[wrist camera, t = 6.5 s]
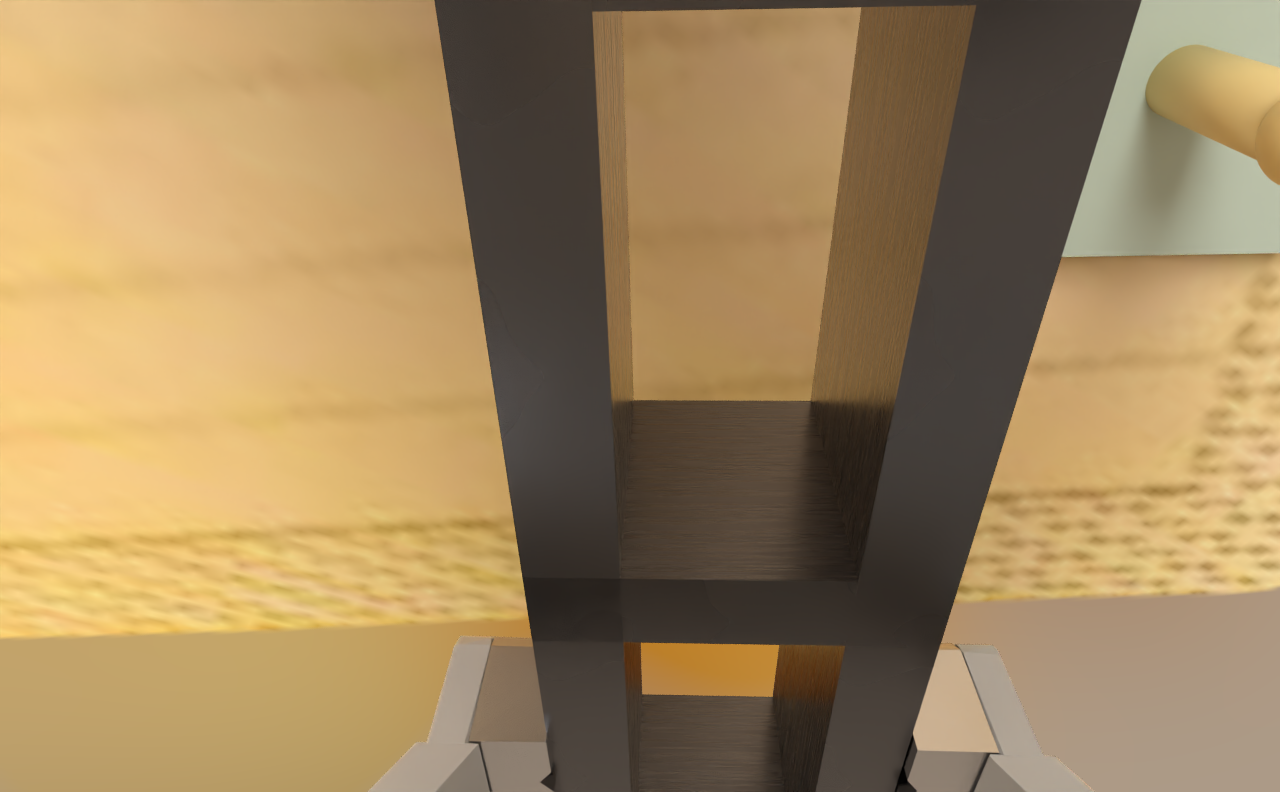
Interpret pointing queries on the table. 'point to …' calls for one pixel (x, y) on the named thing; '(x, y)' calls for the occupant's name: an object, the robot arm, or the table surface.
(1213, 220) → the keeper board
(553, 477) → the grey hollow frame
